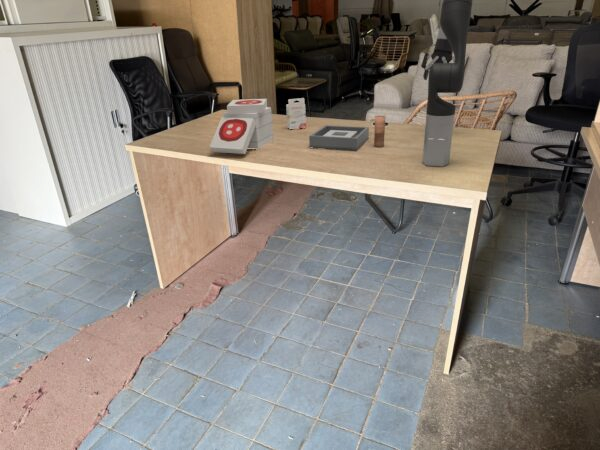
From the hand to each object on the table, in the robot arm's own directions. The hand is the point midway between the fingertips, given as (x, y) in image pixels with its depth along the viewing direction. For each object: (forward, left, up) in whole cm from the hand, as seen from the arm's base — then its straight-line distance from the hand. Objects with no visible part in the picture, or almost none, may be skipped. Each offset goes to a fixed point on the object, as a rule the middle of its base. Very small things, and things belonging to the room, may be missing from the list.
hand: (435, 81), depth 175 cm
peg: (-23, +18, -23) cm, 37 cm away
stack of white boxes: (-38, +72, -23) cm, 84 cm away
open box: (-22, +35, -23) cm, 47 cm away
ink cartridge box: (0, +64, -23) cm, 68 cm away
